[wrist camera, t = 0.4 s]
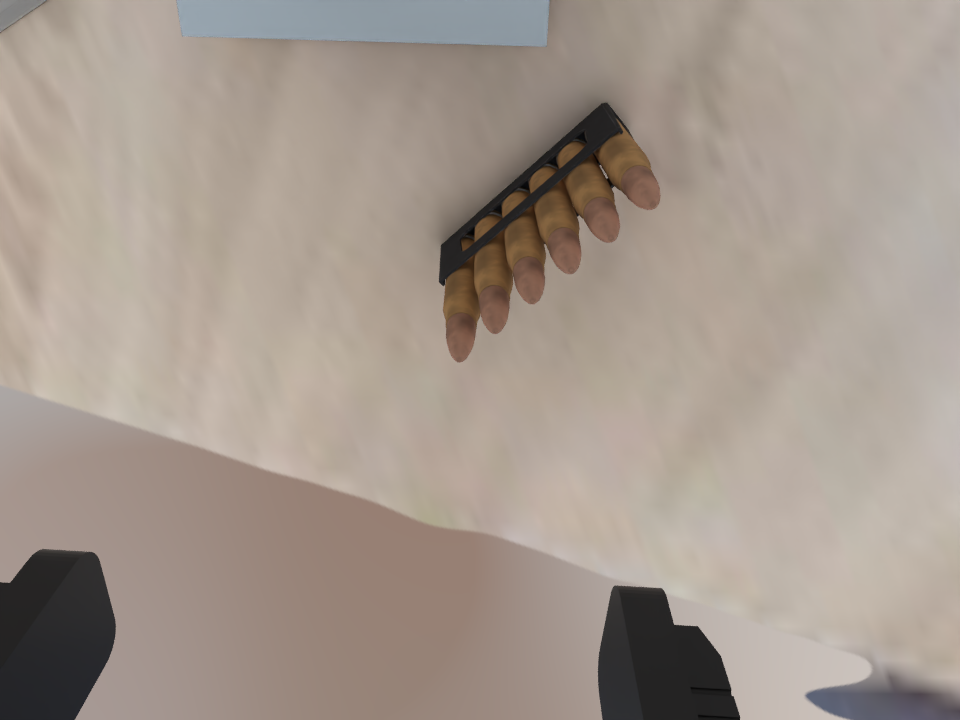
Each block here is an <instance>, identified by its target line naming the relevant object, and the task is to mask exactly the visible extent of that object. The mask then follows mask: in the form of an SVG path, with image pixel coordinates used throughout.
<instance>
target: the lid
mask: <svg viewBox="0 0 960 720" xmlns="http://www.w3.org/2000/svg"><path fill="white" fill-rule="evenodd" d="M176 1H177V7H178V13H179V20H180V26H181V32H182V36H191V37H226V38H261V39H296V40H331V41H366V42H402V43H437V44H472V45H507V46H542V47H547V32H548V16H549V1H550V0H176Z"/></svg>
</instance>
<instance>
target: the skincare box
mask: <svg viewBox="0 0 960 720" xmlns="http://www.w3.org/2000/svg"><path fill="white" fill-rule="evenodd" d="M45 1H46V0H0V32H1V31H3V30H4V29H6V28H7V27H9V26H10V25H11V24H13V23H14V22H16V21H17V20H19V19H20V18H22V17H23V16H25V15H26V14H28V13H29V12H30V11H32V10H33V9H35V8H36V7H38V6H39V5H41V4H42V3H44V2H45Z"/></svg>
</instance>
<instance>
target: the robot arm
mask: <svg viewBox="0 0 960 720" xmlns="http://www.w3.org/2000/svg"><path fill="white" fill-rule="evenodd" d="M115 628H116V624H115V617H114V614H113V610H112V606H111V602H110V598H109V595H108V591H107V587H106V583H105V579H104V576H103V572H102V568H101V564H100V561H99V558H98V557H97V555H96V554H95V553H93V552H82V551H65V550H49V549H42V550H39V551H37V552H36V553H35V554H33V555H32V556H31V557H30V559H29V560H28V561H27V562H26V563H25V565H24V566H23V567H22V569H21V570H20V571H19V572H18V574H17V575H16V576H15V578H14V579H13V580H12V581H11V582H10V583H1V582H0V720H75V718H76V716H77V715H78V713H79V711H80V709H81V708H82V706H83V704H84V702H85V700H86V699H87V697H88V695H89V693H90V691H91V689H92V688H93V686H94V684H95V683H96V681H97V679H98V677H99V676H100V674H101V672H102V670H103V668H104V667H105V665H106V663H107V661H108V659H109V657H110V654H111V651H112V648H113V644H114V639H115V630H116V629H115ZM598 683H599V684H598V685H599V696H600V703H601V711H602V718H603V720H740V715H739V712H738V709H737V706H736V703H735V699H734V697H733V696H732V695H731V687H730V684H729V681H728V677H727V674H726V671H725V668H724V665H723V662H722V658H721V656H720V654H719V653H718V652H717V651H716V649H715V648H714V647H713V646H712V644H711V643H710V641H709V640H708V639H707V638H706V636H705V635H704V634H703V632H702V631H701V630H700V629H699V627H698V626H682V625H674V623H673V619H672V616H671V612H670V608H669V604H668V600H667V597H666V594H665V592H664V590H663V589H662V588H647V587H631V586H614V587H613V589H612V592H611V596H610V601H609V606H608V611H607V616H606V621H605V626H604V631H603V636H602V641H601V646H600V652H599V661H598Z"/></svg>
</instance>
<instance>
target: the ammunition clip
mask: <svg viewBox="0 0 960 720" xmlns="http://www.w3.org/2000/svg"><path fill="white" fill-rule="evenodd" d="M599 165H601V166H602V168H603V169H604V171H605V173H606V174H607V176H608V178H607V179H606V178H605V176H604V174H603V172H602V170H601V168H600V166H599ZM614 186H615V187H616V188H617V189H619V190H621V191H622V192H623V193H624V194H625V195H626V196H627V198H628V199H629V200H630V201H632V202H633V203H634V204H635V205H636V206H638V207H640V208H643V209H647V210H652V209H655V208H656V207H657V206H658V204H659V201H660V188H659V185H658V182H657V180H656V178H655V176H654V175H653V173H652V171H651V166H650V162H649V160H648V158H647V156H646V155H645V153H644V152H643V151H642V150H641V148H640V147H639V146H638V145H637V143H636V142H635V141H634V139H633V137H632V135H631V134H630V132H629V130H628V129H627V127H626V126H625V125H624V124H623V122H622V121H621V120H620V118H619V117H618V116H617V115H616V113H615V112H614V111H613V110H612V108H611V107H610V106H609V104H608V103H603V104H601V105H600V106H599V107H598V108H596V109H595V110H594V111H593V112H592V113H591V114H590V115H589V116H587V117H586V118H585V119H584V120H583V121H582V122H581V123H579V124H578V125H577V126H576V127H575V128H574V129H573V130H571V131H570V132H569V133H568V134H567V135H566V136H565V137H564V138H562V139H561V140H560V141H559V142H558V143H557V144H556V145H554V146H553V147H552V148H551V149H550V150H549V151H548V152H547V153H545V154H544V155H543V156H542V157H541V158H540V159H539V160H537V161H536V162H535V163H534V164H533V165H532V166H531V167H529V168H528V169H527V170H526V171H525V172H524V173H523V174H522V175H520V176H519V177H518V178H517V179H516V180H515V181H514V182H512V183H511V184H510V185H509V186H508V187H507V188H506V189H504V190H503V191H502V192H501V193H500V194H499V195H498V196H497V197H495V198H494V199H493V200H492V201H491V202H490V203H489V204H487V205H486V206H485V207H484V208H483V209H482V210H481V211H480V212H478V213H477V214H476V215H475V216H474V217H473V218H472V219H470V220H469V221H468V222H467V223H466V224H465V225H464V226H462V227H461V228H460V229H459V230H458V231H457V232H456V233H455V234H453V235H452V236H451V237H450V238H449V239H448V240H447V241H445V242H444V243H443V244H442V245H441V255H440V273H439V282H440V284H441V285H442V286H444V285H445V279H446V285H445V296H444V306H443V312H444V315H445V319H446V339H447V344H448V348H449V351H450V354H451V356H452V357H453V358H454V360H455V361H457V362H463V361H464V360H465V359H466V358H467V357H468V355H469V354H470V352H471V350H472V348H473V344H474V340H475V334H476V327H477V321H478V319H479V317H480V313H481V317H482V320H483V323H484V324H485V326H486V328H487V329H488V330H489V331H490V332H491V333H493V334H497V333H499V332H500V331H501V330H502V329H503V327H504V326H505V324H506V322H507V319H508V313H509V301H510V293H511V291H512V286H513V277H514V281H515V285H516V288H517V290H518V292H519V294H520V295H521V297H522V298H523V299H524V300H525V301H526V302H527V303H529V304H535V303H537V302H538V301H539V300H540V298H541V296H542V294H543V290H544V284H545V275H544V264H545V259H546V253H545V247H544V244H546V245H547V248H548V250H549V252H550V255H551V257H552V259H553V261H554V263H555V264H556V266H557V267H558V268H559V269H560V270H562V271H563V272H564V273H567V274H572V273H574V272H576V270H577V269H578V267H579V265H580V260H581V246H580V241H579V229H580V228H579V222H578V218H577V217H578V216H581V217H582V218H583V219H584V221H585V222H586V224H587V226H588V227H589V229H590V231H591V232H592V233H593V234H594V235H595V236H596V237H597V238H599V239H600V240H602V241H604V242H608V243H609V242H613V241H615V240H616V238H617V237H618V233H619V229H620V223H619V217H618V213H617V211H616V206H615V204H614V201H615V200H614V193H613V191H612V189H611V188H613V187H614ZM573 206H574V207H573ZM512 273H513V276H512Z"/></svg>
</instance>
